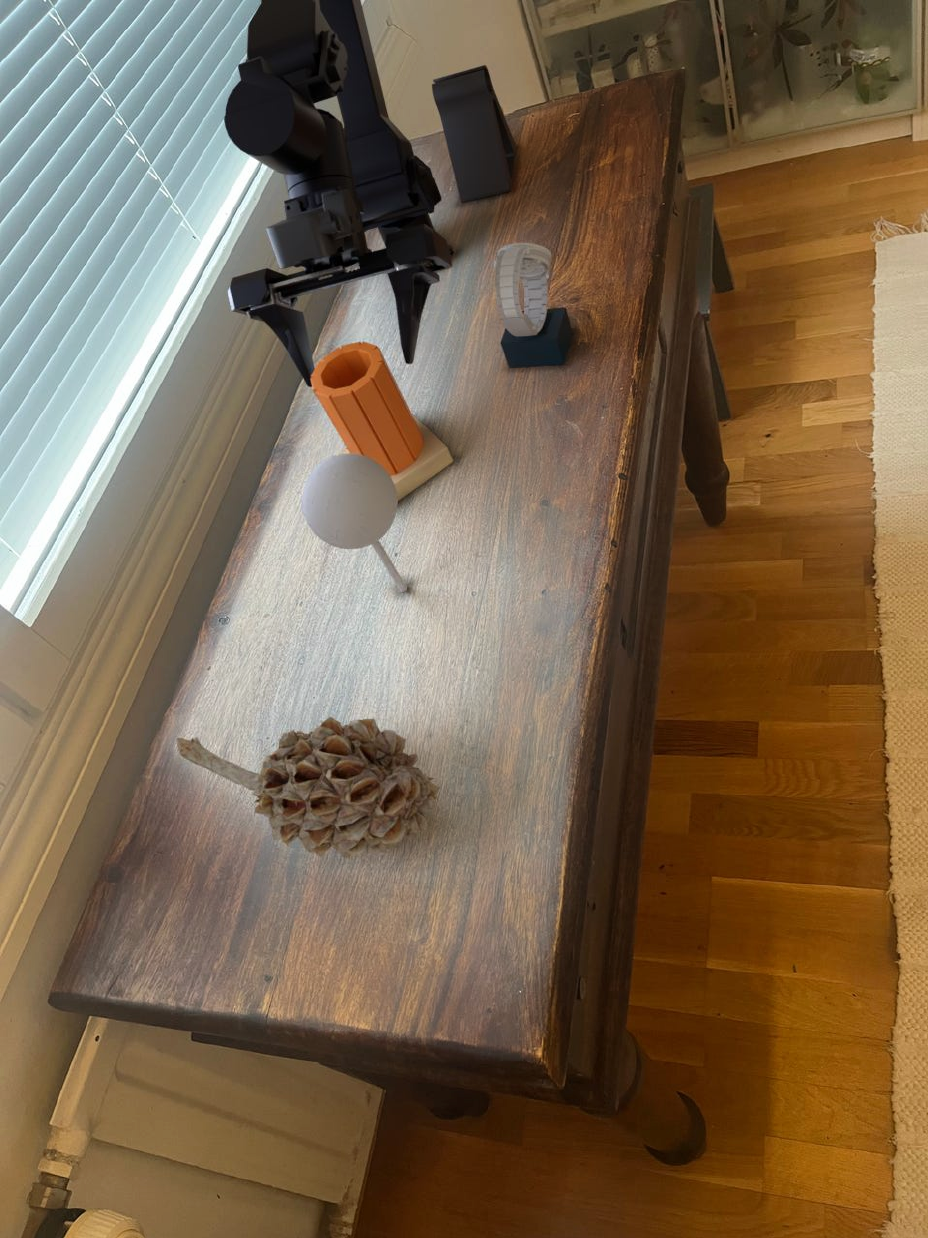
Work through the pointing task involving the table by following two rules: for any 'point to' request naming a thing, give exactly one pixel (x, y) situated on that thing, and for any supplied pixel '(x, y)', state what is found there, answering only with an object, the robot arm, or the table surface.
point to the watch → (529, 308)
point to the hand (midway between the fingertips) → (360, 375)
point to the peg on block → (421, 463)
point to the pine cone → (334, 787)
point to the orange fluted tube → (367, 406)
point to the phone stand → (475, 133)
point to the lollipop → (352, 505)
